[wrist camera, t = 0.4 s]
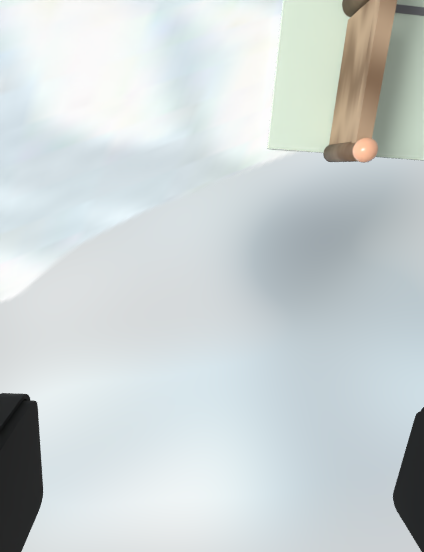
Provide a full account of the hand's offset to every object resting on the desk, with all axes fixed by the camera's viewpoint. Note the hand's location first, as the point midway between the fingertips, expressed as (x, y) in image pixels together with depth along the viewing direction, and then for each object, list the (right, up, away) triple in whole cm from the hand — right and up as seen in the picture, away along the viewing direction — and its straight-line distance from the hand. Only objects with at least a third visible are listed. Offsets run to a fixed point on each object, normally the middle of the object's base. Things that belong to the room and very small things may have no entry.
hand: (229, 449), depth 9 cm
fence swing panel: (+11, +20, +23) cm, 33 cm away
